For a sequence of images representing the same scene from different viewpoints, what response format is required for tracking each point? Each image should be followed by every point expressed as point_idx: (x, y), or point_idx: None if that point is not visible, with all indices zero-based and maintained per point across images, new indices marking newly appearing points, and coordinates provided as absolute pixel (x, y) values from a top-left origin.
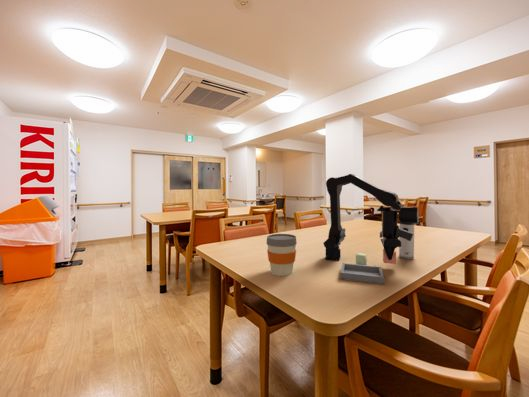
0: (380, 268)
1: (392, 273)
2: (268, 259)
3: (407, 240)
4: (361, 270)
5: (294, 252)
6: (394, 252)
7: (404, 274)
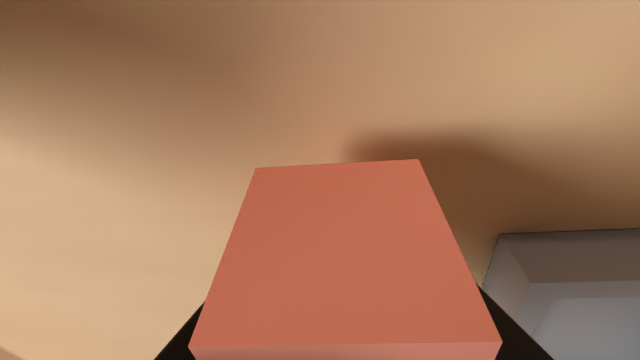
0: (590, 289)
1: (493, 152)
2: None
3: None
4: None
5: None
6: (489, 352)
7: (515, 25)
